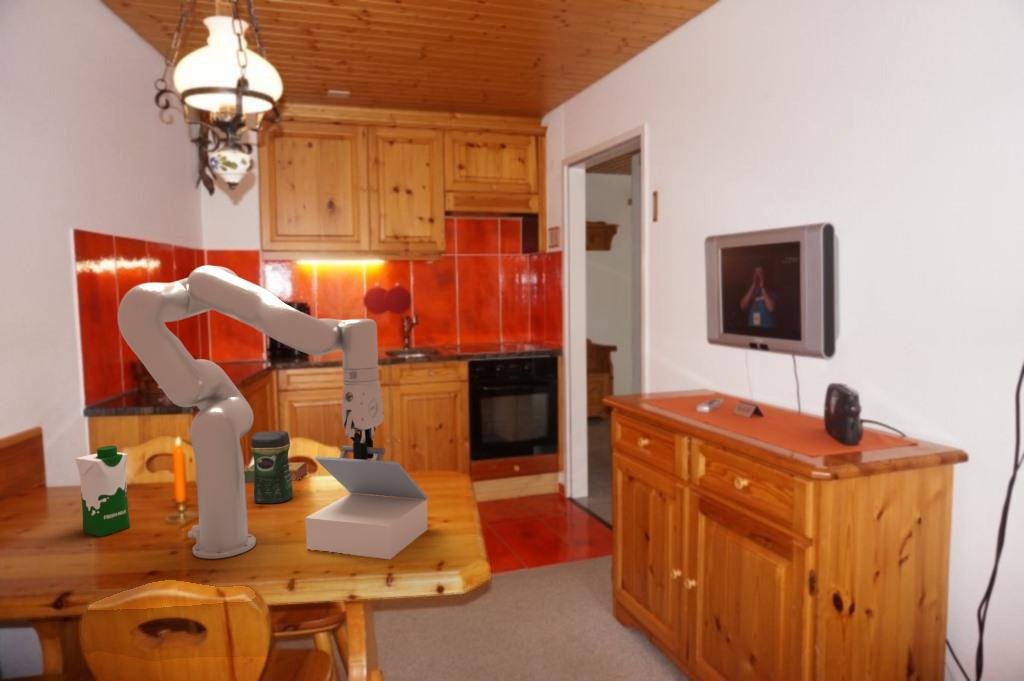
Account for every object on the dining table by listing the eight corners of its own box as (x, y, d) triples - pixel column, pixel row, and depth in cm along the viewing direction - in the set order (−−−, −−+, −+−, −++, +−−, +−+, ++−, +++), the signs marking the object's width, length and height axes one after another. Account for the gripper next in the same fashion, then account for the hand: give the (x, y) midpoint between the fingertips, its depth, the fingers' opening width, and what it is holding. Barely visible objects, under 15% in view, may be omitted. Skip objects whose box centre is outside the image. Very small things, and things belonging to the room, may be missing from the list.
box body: (306, 549, 144) (305, 517, 144) (351, 521, 161) (350, 493, 161) (390, 559, 138) (388, 526, 138) (427, 529, 155) (426, 499, 155)
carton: (298, 483, 197) (297, 468, 197) (243, 484, 197) (243, 469, 197) (307, 475, 206) (306, 461, 205) (254, 476, 206) (254, 462, 205)
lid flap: (314, 458, 147) (321, 441, 149) (350, 493, 161) (356, 476, 163) (396, 464, 141) (402, 446, 143) (426, 499, 155) (431, 482, 157)
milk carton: (100, 539, 153) (94, 452, 152) (75, 533, 157) (70, 449, 156) (136, 526, 161) (131, 444, 160) (112, 521, 165) (107, 441, 164)
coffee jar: (296, 495, 184) (293, 428, 183) (285, 504, 176) (282, 434, 175) (262, 495, 184) (258, 428, 183) (249, 504, 177) (245, 434, 175)
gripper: (355, 380, 137) (358, 469, 139) (394, 371, 152) (396, 451, 154) (324, 379, 140) (327, 467, 141) (365, 371, 155) (367, 449, 156)
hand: (363, 458), depth 147 cm, fingers closed
